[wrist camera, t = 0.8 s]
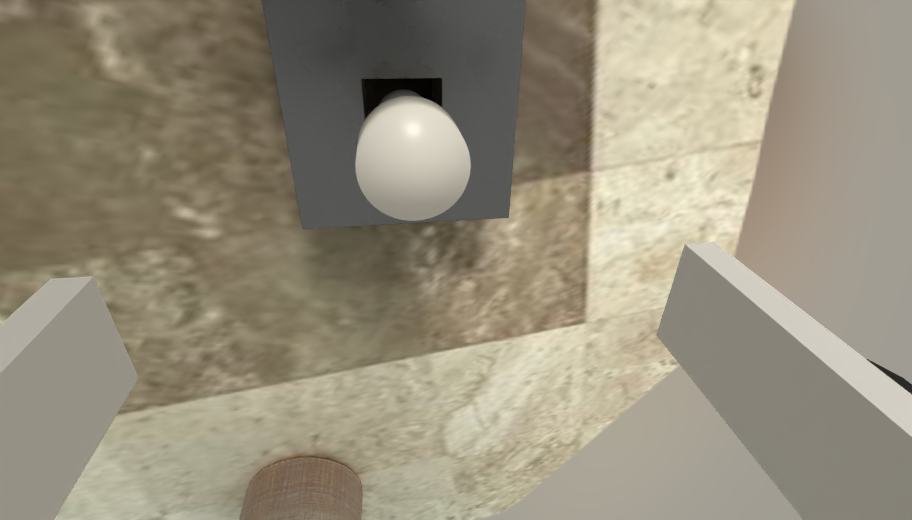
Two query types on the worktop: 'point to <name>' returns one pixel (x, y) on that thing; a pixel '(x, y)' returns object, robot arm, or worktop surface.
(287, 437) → the worktop surface
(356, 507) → the planter
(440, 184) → the knob
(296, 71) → the mount
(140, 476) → the worktop surface
